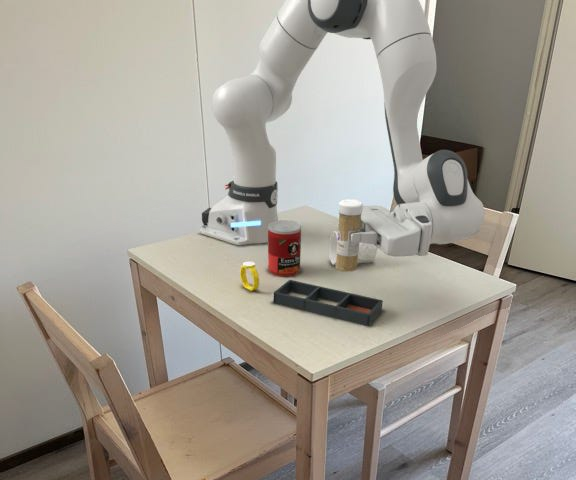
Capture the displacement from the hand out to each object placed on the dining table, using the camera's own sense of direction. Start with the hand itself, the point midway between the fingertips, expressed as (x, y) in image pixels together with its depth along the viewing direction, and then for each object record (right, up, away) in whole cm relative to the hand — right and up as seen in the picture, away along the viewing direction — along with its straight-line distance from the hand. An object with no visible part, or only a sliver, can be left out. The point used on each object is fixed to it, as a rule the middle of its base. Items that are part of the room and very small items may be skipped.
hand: (344, 232), depth 117 cm
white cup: (+10, +4, +31) cm, 33 cm away
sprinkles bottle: (+1, -6, +5) cm, 8 cm away
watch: (-20, -8, +18) cm, 28 cm away
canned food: (-12, -2, +27) cm, 30 cm away
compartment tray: (-3, -13, +11) cm, 17 cm away
